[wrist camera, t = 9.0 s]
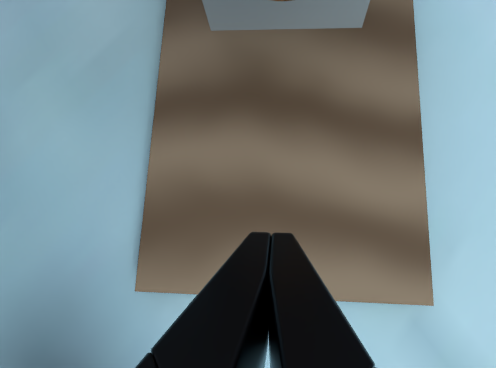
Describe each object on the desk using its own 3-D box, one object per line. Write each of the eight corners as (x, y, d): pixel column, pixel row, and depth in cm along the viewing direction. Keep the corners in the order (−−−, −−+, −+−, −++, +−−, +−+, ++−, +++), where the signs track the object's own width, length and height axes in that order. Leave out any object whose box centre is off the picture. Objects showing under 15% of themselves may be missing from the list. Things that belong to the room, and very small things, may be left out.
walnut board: (426, 304, 20) (433, 305, 19) (141, 290, 21) (134, 291, 20) (405, -26, 25) (410, -38, 24) (174, -18, 26) (169, -30, 25)
